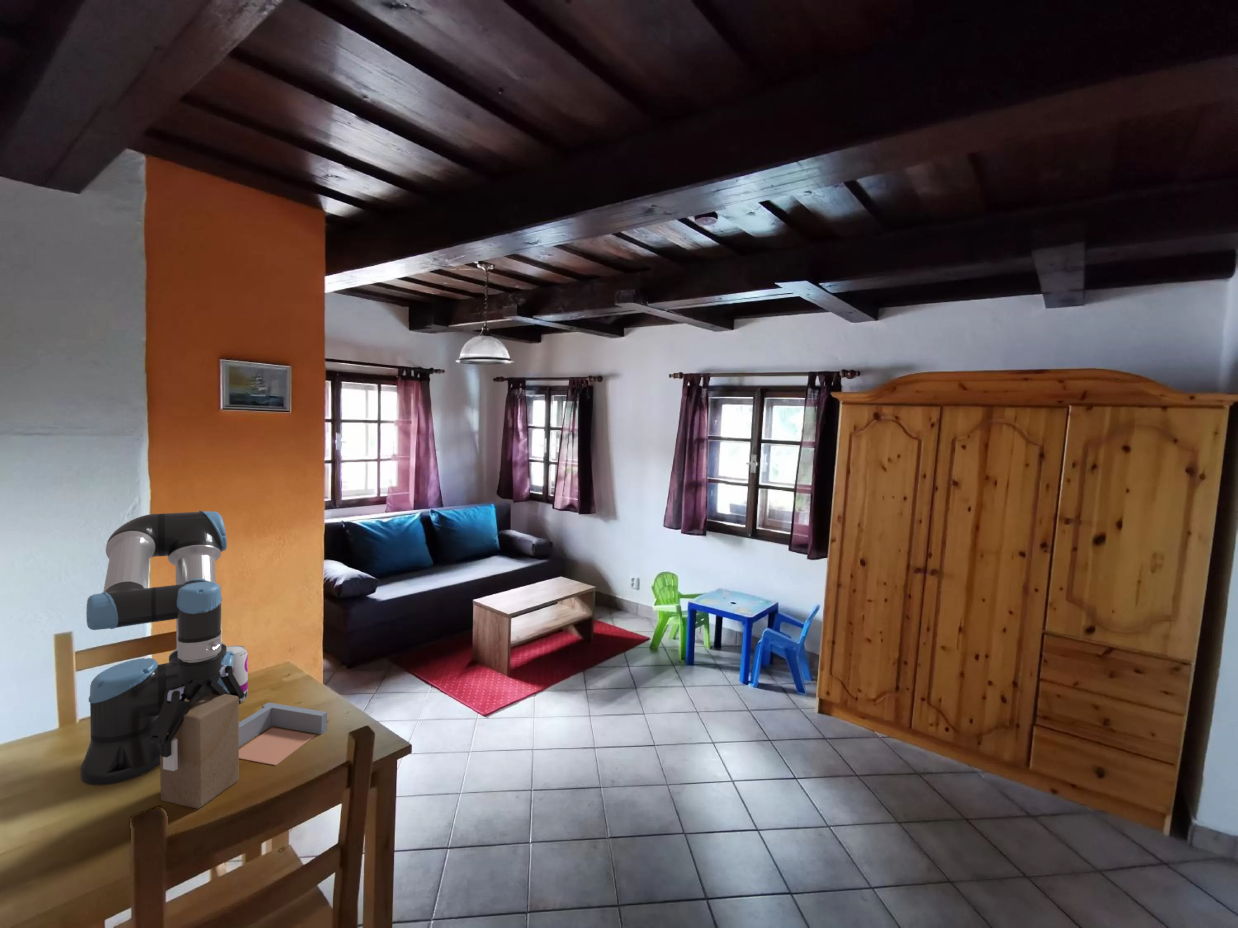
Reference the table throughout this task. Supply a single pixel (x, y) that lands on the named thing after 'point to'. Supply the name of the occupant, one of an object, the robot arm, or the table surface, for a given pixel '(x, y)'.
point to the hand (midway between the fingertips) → (200, 750)
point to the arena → (278, 732)
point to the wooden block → (204, 753)
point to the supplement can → (240, 667)
